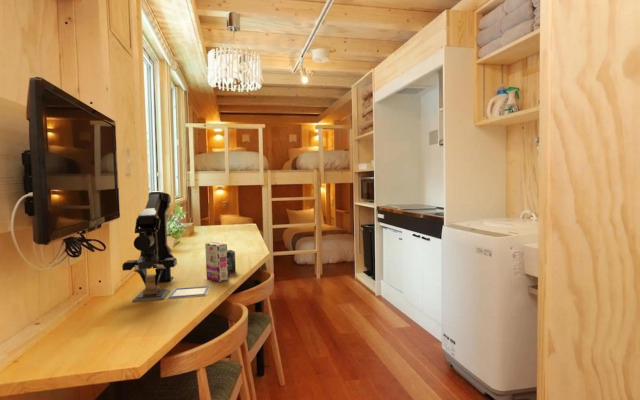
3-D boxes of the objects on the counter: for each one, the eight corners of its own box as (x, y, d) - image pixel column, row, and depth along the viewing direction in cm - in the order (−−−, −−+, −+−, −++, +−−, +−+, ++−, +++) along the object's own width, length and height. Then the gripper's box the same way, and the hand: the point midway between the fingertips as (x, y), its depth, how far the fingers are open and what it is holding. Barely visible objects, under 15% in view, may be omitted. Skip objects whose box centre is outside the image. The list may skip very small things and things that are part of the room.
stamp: (147, 291, 145) (146, 274, 145) (160, 290, 146) (159, 273, 146) (143, 295, 140) (142, 277, 140) (156, 294, 141) (156, 276, 141)
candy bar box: (229, 280, 164) (227, 243, 163) (219, 282, 160) (217, 245, 159) (215, 276, 171) (214, 241, 171) (206, 278, 168) (204, 243, 167)
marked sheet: (174, 289, 151) (174, 288, 151) (210, 286, 154) (210, 285, 154) (167, 298, 139) (167, 297, 139) (206, 295, 142) (206, 294, 142)
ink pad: (141, 293, 148) (141, 290, 148) (170, 290, 150) (169, 288, 149) (132, 301, 137) (132, 298, 137) (163, 299, 139) (163, 296, 139)
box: (220, 275, 173) (219, 253, 172) (216, 273, 177) (215, 251, 177) (236, 272, 177) (235, 251, 176) (232, 270, 182) (231, 249, 181)
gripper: (115, 251, 133) (118, 293, 134) (169, 248, 136) (171, 289, 137) (126, 246, 144) (128, 285, 144) (176, 243, 147) (178, 281, 148)
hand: (151, 285), depth 143 cm, fingers closed on stamp, 3 cm apart
